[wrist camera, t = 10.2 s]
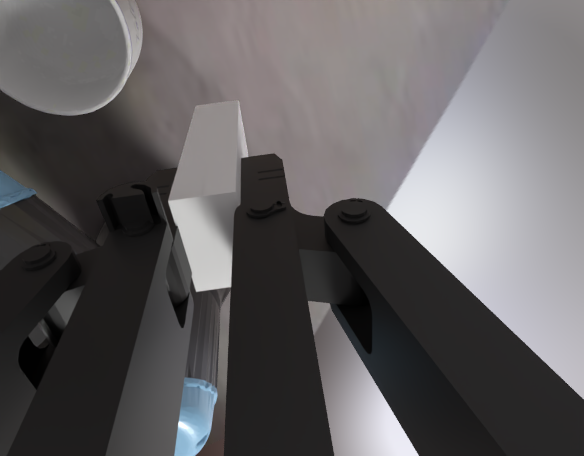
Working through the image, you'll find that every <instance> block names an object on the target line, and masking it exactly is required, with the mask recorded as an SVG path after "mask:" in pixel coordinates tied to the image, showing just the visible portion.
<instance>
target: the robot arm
mask: <svg viewBox="0 0 584 456" xmlns="http://www.w3.org/2000/svg"><path fill="white" fill-rule="evenodd" d="M36 194H37V192H36V191H35V190H33V189H32V188H26V187H24V186H23V185H21V184H20V183H18V182H17V181H15V180H14V179H13V178H11V177H10V176H8V175H7V174H5V173H4V172H3V171H1V170H0V456H195V455H196V454H197V453H198V452H199V451H200V450H201V449H202V447H203V446H204V444H205V443H206V441H207V439H208V437H209V434H210V431H211V425H212V417H213V410H214V404H215V403H216V400H217V373H218V349H219V326H220V308H221V306H222V304H223V302H224V301H225V299H226V297H227V295H228V293H229V291H230V290H231V299H230V323H229V346H228V370H227V394H226V418H225V443H224V456H334V452H333V446H332V441H331V434H330V428H329V423H328V418H327V412H326V405H325V399H324V394H323V389H322V382H321V376H320V370H319V365H318V359H317V353H316V347H315V342H314V335H313V330H312V324H311V318H310V312H309V306H308V301H315V302H324V303H330V305H331V309H332V311H333V313H334V314H335V316H336V318H337V320H338V321H339V323H340V324H341V326H342V328H343V330H344V331H345V333H346V335H347V336H348V338H349V340H350V341H351V343H352V345H353V346H354V348H355V349H356V351H357V353H358V355H359V356H360V358H361V360H362V361H363V363H364V365H365V366H366V368H367V370H368V371H369V373H370V375H371V376H372V378H373V379H374V381H375V383H376V385H377V386H378V388H379V389H380V391H381V393H382V394H383V396H384V398H385V400H386V401H387V403H388V404H389V406H390V408H391V410H392V411H393V413H394V415H395V416H396V418H397V420H398V421H399V423H400V425H401V426H402V428H403V430H404V431H405V433H406V434H407V436H408V438H409V440H410V441H411V443H412V444H413V446H414V448H415V450H416V451H417V453H418V455H419V456H584V399H582V398H581V397H580V396H579V395H578V394H577V393H576V392H575V391H574V390H573V389H572V388H571V387H570V386H569V385H568V384H567V383H565V381H564V380H563V379H562V378H561V377H559V376H558V375H557V374H556V373H555V372H554V371H553V370H552V369H551V368H550V367H549V366H548V365H547V364H546V363H545V362H544V361H543V360H542V359H541V358H540V357H538V355H536V354H535V353H534V352H533V351H532V350H531V349H530V348H529V347H528V346H527V345H526V344H525V343H524V342H523V341H522V340H521V339H520V338H519V337H518V336H517V335H515V334H514V333H513V332H512V331H511V330H510V329H509V328H508V327H507V326H506V325H505V324H504V323H503V322H502V321H501V320H500V319H499V318H498V317H497V316H496V315H495V314H493V312H491V311H490V310H489V309H488V308H487V307H486V306H485V305H484V304H483V303H482V302H481V301H480V300H479V299H478V298H477V297H476V296H474V294H473V293H472V292H471V291H469V290H468V289H467V288H466V287H465V286H464V285H463V284H462V283H461V282H460V281H459V280H458V279H457V278H456V277H455V276H454V275H453V274H452V273H451V272H450V271H448V269H446V268H445V267H444V266H443V265H442V264H441V263H440V262H439V261H438V260H437V259H436V258H435V257H434V256H433V255H432V254H431V253H430V252H429V251H428V250H427V249H426V248H424V247H423V246H422V245H421V244H420V243H419V242H418V241H417V240H416V239H415V238H414V237H413V236H412V235H411V234H410V233H409V232H408V231H407V230H406V229H405V228H404V227H403V226H401V225H400V224H399V223H398V222H397V221H396V220H395V219H394V218H393V217H392V216H391V215H390V214H389V213H388V212H387V211H386V210H385V209H384V208H383V207H382V206H380V205H378V204H377V203H375V202H373V201H369V200H365V199H359V198H358V199H356V198H352V199H347V200H341V201H339V202H336V203H334V204H332V205H331V206H330V207H328V208H327V209H326V211H325V214H324V217H321V216H310V215H306V214H302V213H300V212H298V211H296V210H295V209H294V208H293V207H292V206H291V204H290V202H289V196H288V190H287V185H286V179H285V173H284V167H283V162H282V159H280V158H279V157H278V156H277V155H275V154H267V155H259V156H252V157H248V151H247V145H246V140H245V134H244V128H243V123H242V117H241V111H240V105H239V100H235V101H228V102H220V103H212V104H205V105H197V106H196V107H195V110H194V114H193V117H192V120H191V124H190V127H189V131H188V134H187V138H186V141H185V144H184V148H183V151H182V155H181V158H180V162H179V165H178V168H172V169H165V170H157V171H156V172H155V173H154V174H153V175H151V176H150V177H149V178H148V179H147V180H146V182H131V183H126V184H122V185H119V186H117V187H114V188H112V189H110V190H108V191H106V192H105V193H103V194H102V195H101V196H100V197H99V198H98V199H97V200H96V201H97V203H98V206H99V208H100V210H101V213H102V215H103V217H104V220H105V222H104V224H103V226H102V228H101V230H100V232H99V235H98V237H97V240H96V242H95V241H93V240H92V239H91V238H89V237H88V236H87V235H86V234H84V233H83V232H82V231H80V230H79V229H78V228H77V227H75V226H74V225H73V224H71V223H70V222H69V221H68V220H66V219H65V218H64V217H62V216H61V215H60V214H59V213H57V212H56V211H55V210H54V209H52V208H51V207H50V206H48V205H47V204H46V203H45V202H43V201H42V200H41V199H39V198H38V197H37V196H36Z"/></svg>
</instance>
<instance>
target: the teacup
mask: <svg viewBox="0 0 584 456" xmlns="http://www.w3.org/2000/svg"><path fill="white" fill-rule="evenodd" d="M142 36H143V30H142V21H141V16H140V12H139V9H138V6H137V3H136V1H135V0H0V89H1V90H2V91H3V92H4V93H5V94H7V95H8V96H10V97H11V98H13V99H15V100H16V101H18V102H20V103H22V104H24V105H26V106H28V107H30V108H33V109H36V110H39V111H42V112H45V113H50V114H56V115H67V116H72V115H81V114H86V113H90V112H93V111H95V110H97V109H99V108H101V107H103V106H105V105H106V104H107V103H109V102H110V101H111V100H113V99H114V98H115V97H116V96H117V94H118V93H119V92H120V91H121V90H122V88H123V86H124V85H125V83H126V81H127V79H128V76H129V75H130V73H131V72H132V70H133V68H134V67H135V64H136V62H137V60H138V58H139V54H140V51H141V47H142Z"/></svg>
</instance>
